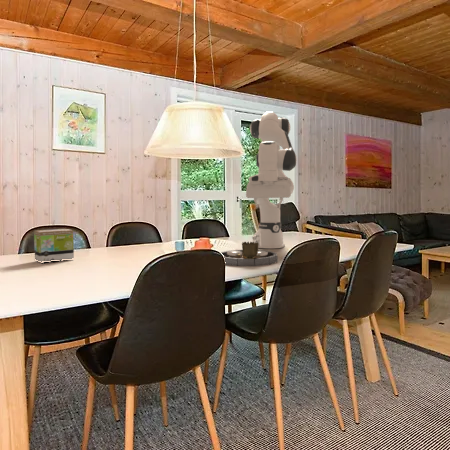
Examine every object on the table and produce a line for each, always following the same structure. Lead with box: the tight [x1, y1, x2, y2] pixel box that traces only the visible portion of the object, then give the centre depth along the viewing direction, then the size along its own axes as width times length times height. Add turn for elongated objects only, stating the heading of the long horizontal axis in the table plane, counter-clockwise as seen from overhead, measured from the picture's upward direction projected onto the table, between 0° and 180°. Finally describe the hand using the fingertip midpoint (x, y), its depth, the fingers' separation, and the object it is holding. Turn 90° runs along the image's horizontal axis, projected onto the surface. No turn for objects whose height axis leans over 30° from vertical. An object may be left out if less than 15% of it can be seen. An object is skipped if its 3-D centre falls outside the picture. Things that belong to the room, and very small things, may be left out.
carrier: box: [221, 249, 278, 267], centre depth 181 cm, size 27×27×6 cm
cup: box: [241, 241, 259, 258], centre depth 174 cm, size 8×7×8 cm
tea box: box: [33, 228, 75, 262], centre depth 186 cm, size 15×10×15 cm
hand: (268, 207), depth 180 cm, fingers open, 8 cm apart
